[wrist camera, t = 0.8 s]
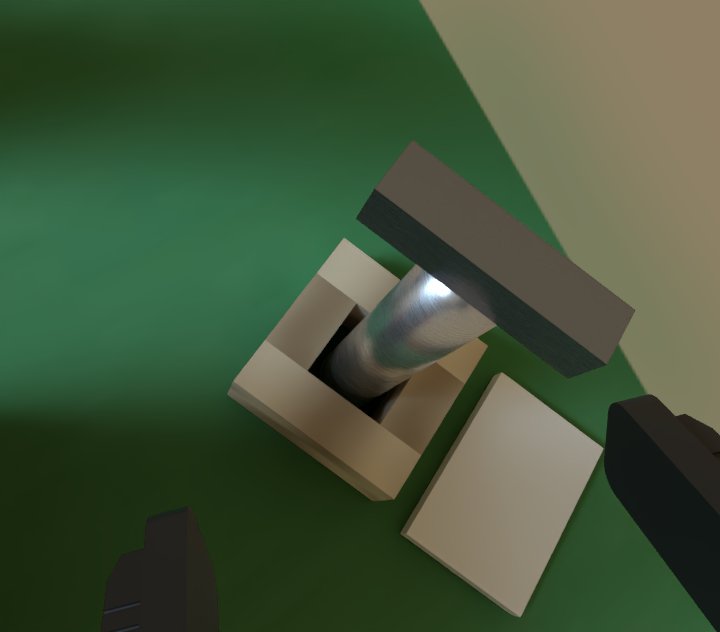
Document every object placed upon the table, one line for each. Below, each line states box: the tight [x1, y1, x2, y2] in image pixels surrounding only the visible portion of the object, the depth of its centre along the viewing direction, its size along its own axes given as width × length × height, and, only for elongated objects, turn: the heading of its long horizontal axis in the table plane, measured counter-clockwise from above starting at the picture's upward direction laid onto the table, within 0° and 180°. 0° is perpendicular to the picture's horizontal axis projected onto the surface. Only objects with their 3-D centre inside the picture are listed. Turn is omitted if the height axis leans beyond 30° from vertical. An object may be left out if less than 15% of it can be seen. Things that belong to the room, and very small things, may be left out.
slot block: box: [227, 238, 488, 501], centre depth 34 cm, size 9×9×4 cm
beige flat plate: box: [400, 372, 604, 617], centre depth 36 cm, size 7×10×1 cm
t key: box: [320, 140, 635, 407], centre depth 27 cm, size 8×3×18 cm, turn 56°
